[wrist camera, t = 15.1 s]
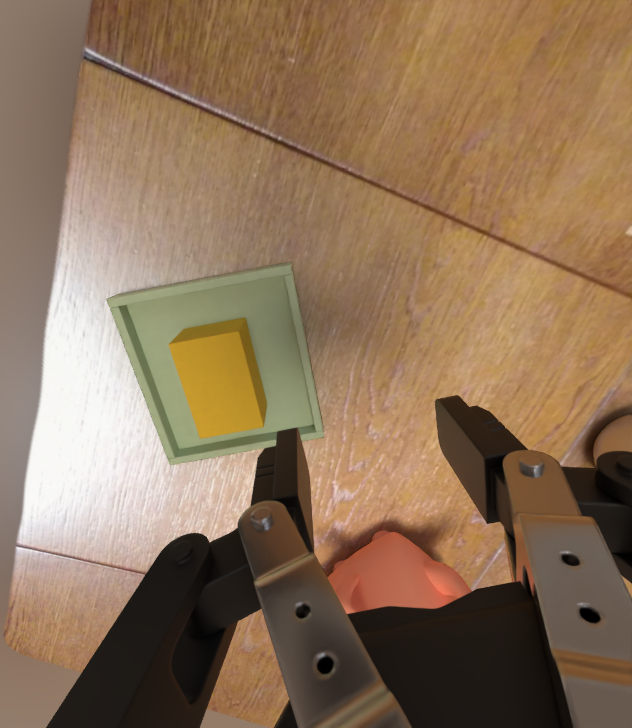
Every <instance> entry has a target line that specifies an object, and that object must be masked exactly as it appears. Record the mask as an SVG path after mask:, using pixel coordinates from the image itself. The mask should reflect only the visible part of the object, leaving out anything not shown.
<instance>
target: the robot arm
mask: <svg viewBox="0 0 632 728" xmlns="http://www.w3.org/2000/svg"><path fill="white" fill-rule="evenodd" d="M435 409H436V419H437V430H438V439H439V444H440V447H441V450H442V452H443V454H444V456H445V458H446V459H447V461H448V462H449V464H450V466H451V467H452V469H453V470H454V472H455V473H456V475H457V477H458V478H459V480H460V481H461V483H462V485H463V486H464V488H465V489H466V491H467V493H468V494H469V496H470V497H471V499H472V500H473V502H474V504H475V505H476V507H477V508H478V510H479V512H480V513H481V515H482V516H483V518H484V519H485V521H486V523H487V524H489V523H495V522H501V523H502V525H503V526H504V539H505V545H506V550H507V556H508V561H509V567H510V572H511V578H512V582H511V583H506V584H501V585H496V586H490V587H485V588H480V589H476V590H474V591H472V592H470V593H468V594H466V595H464V596H462V597H460V598H458V599H456V600H454V601H452V602H450V603H448V604H446V605H444V606H442V607H440V608H436V609H429V608H413V607H398V606H386V607H381V608H375V609H370V610H365V611H360V612H354V613H349V614H347V613H346V611H345V610H344V608H343V606H342V604H341V602H340V600H339V598H338V597H337V595H336V593H335V591H334V589H333V587H332V585H331V583H330V582H329V580H328V578H327V576H326V574H325V572H324V570H323V569H322V567H321V565H320V563H319V561H318V559H317V557H316V556H315V554H314V539H313V522H312V505H311V489H310V476H309V470H308V465H307V461H306V457H305V453H304V449H303V445H302V441H301V437H300V433H299V430H298V427H296V428H291V429H286V430H281V431H277V439H276V446H272V447H267V448H265V449H264V450H263V451H262V453H261V454H260V456H259V457H258V461H257V467H256V468H257V470H256V474H255V481H254V487H253V494H252V500H251V507H249V508H248V509H247V510H246V511H245V512H244V513H243V514H242V515H241V517H240V519H239V521H238V528H237V529H235V530H234V531H232V532H231V533H229V534H227V535H225V536H223V537H220V538H218V539H216V540H214V541H212V542H210V543H209V541H208V539H207V537H206V536H204V535H203V534H199V533H190V534H186V535H183V536H181V537H178V538H177V539H175V540H173V541H172V542H170V543H169V544H168V545H167V546H166V547H165V548H164V549H163V550H162V551H161V553H160V554H159V555H158V557H157V558H156V560H155V561H154V563H153V565H152V566H151V568H150V569H149V571H148V572H147V574H146V575H145V577H144V578H143V580H142V581H141V583H140V584H139V586H138V588H137V589H136V591H135V592H134V594H133V595H132V597H131V598H130V600H129V601H128V603H127V604H126V606H125V608H124V609H123V611H122V612H121V614H120V615H119V617H118V618H117V620H116V621H115V623H114V624H113V626H112V627H111V629H110V631H109V632H108V634H107V635H106V637H105V638H104V640H103V641H102V643H101V644H100V646H99V647H98V649H97V650H96V652H95V654H94V655H93V657H92V658H91V660H90V661H89V663H88V664H87V666H86V667H85V669H84V670H83V672H82V673H81V675H80V677H79V678H78V680H77V681H76V683H75V685H74V686H73V687H72V689H71V690H70V692H69V693H68V695H67V696H66V698H65V700H64V701H63V703H62V704H61V706H60V707H59V709H58V710H57V712H56V713H55V715H54V716H53V718H52V720H51V721H50V723H49V724H48V726H47V727H46V728H200V725H201V723H202V720H203V717H204V714H205V711H206V709H207V706H208V703H209V701H210V698H211V695H212V692H213V690H214V687H215V684H216V681H217V679H218V676H219V673H220V670H221V668H222V665H223V662H224V659H225V657H226V654H227V651H228V648H229V646H230V643H231V640H232V637H233V634H234V632H235V629H236V626H237V622H238V621H239V620H241V619H243V618H245V617H247V616H249V615H250V614H252V613H254V612H256V611H258V610H260V609H262V611H263V615H264V618H265V621H266V624H267V628H268V631H269V634H270V637H271V641H272V644H273V647H274V650H275V654H276V657H277V660H278V663H279V667H280V670H281V673H282V676H283V680H284V683H285V686H286V689H287V693H288V696H289V701H288V703H287V704H286V706H285V708H284V710H283V712H282V714H281V715H280V717H279V719H278V721H277V723H276V725H275V726H274V728H632V598H631V595H630V593H629V591H628V589H627V587H626V585H625V583H624V580H623V578H622V576H623V577H624V578H626V579H627V580H628V581H630V582H631V583H632V452H629V451H610V452H606V453H603V454H601V455H600V456H599V457H598V458H597V461H596V468H579V467H562V466H561V465H560V464H559V462H558V461H557V460H556V459H554V458H553V457H551V456H550V455H547V454H545V453H542V452H539V451H533V450H528V449H527V448H526V447H525V446H524V445H523V444H522V443H521V442H520V441H519V440H518V439H517V438H516V437H515V436H514V435H513V434H512V433H511V432H510V431H509V430H508V429H507V428H506V429H505V426H504V425H503V424H502V423H501V422H498V419H497V418H496V417H495V416H494V415H493V414H492V413H491V412H489V411H487V410H485V409H483V408H481V407H478V406H472V407H469V406H468V405H467V404H466V403H465V402H464V401H463V400H462V399H461V398H460V397H459V396H458V395H455V396H450V397H445V398H440V399H436V401H435ZM621 575H622V576H621Z"/></svg>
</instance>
